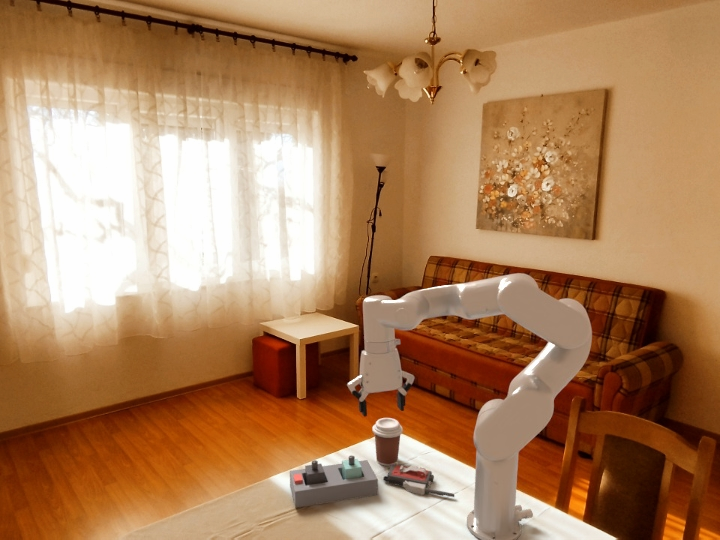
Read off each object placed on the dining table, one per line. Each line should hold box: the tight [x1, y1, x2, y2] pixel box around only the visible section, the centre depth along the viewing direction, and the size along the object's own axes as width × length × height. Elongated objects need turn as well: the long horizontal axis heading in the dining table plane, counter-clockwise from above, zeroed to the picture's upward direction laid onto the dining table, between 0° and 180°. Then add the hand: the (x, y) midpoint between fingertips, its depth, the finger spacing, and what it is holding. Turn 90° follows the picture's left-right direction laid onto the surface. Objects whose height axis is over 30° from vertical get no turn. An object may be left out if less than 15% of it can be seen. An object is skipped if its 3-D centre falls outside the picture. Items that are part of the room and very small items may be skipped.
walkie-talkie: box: [382, 463, 456, 498], centre depth 140 cm, size 9×4×20 cm
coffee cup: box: [371, 417, 404, 467], centre depth 152 cm, size 9×9×12 cm
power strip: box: [289, 459, 379, 509], centre depth 137 cm, size 22×10×9 cm, turn 105°
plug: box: [341, 455, 362, 480], centre depth 139 cm, size 4×4×9 cm
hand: (382, 411), depth 128 cm, fingers open, 9 cm apart
